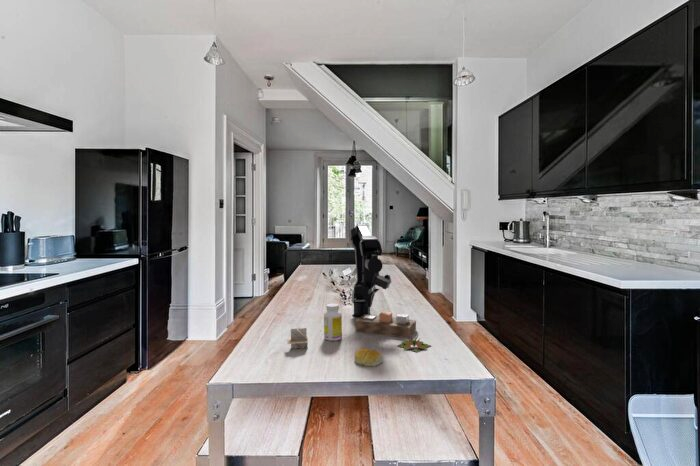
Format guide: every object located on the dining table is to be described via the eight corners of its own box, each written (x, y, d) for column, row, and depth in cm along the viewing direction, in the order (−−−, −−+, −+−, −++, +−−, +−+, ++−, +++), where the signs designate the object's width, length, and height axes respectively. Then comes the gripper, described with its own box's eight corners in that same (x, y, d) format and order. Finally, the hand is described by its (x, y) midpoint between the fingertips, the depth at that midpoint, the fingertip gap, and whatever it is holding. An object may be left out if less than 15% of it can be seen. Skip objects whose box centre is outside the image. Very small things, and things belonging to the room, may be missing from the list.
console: (355, 330, 156) (355, 320, 155) (365, 323, 165) (365, 314, 164) (408, 338, 146) (408, 327, 146) (415, 330, 155) (416, 320, 155)
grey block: (396, 325, 151) (396, 315, 151) (399, 322, 155) (399, 313, 155) (406, 326, 150) (406, 317, 149) (409, 323, 153) (409, 314, 153)
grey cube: (363, 326, 157) (363, 317, 157) (366, 323, 161) (366, 314, 161) (372, 328, 156) (372, 318, 156) (375, 325, 159) (375, 316, 159)
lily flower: (437, 347, 138) (438, 335, 138) (418, 356, 130) (418, 343, 130) (410, 339, 147) (410, 327, 146) (390, 347, 138) (390, 334, 138)
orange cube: (379, 323, 154) (379, 313, 154) (382, 320, 158) (382, 311, 158) (388, 324, 153) (388, 315, 152) (392, 321, 156) (392, 312, 156)
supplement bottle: (344, 336, 149) (344, 303, 148) (338, 342, 142) (337, 307, 141) (328, 334, 151) (327, 302, 150) (321, 340, 144) (321, 306, 143)
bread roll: (362, 354, 131) (362, 343, 131) (385, 360, 126) (385, 348, 126) (348, 363, 124) (348, 351, 124) (373, 369, 119) (373, 357, 119)
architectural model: (307, 352, 134) (307, 331, 134) (287, 353, 133) (287, 332, 133) (307, 348, 138) (307, 327, 137) (287, 349, 137) (287, 329, 136)
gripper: (380, 274, 145) (380, 315, 146) (396, 266, 162) (395, 303, 163) (353, 272, 149) (353, 311, 151) (371, 265, 166) (371, 301, 167)
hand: (369, 306), depth 158 cm, fingers closed
